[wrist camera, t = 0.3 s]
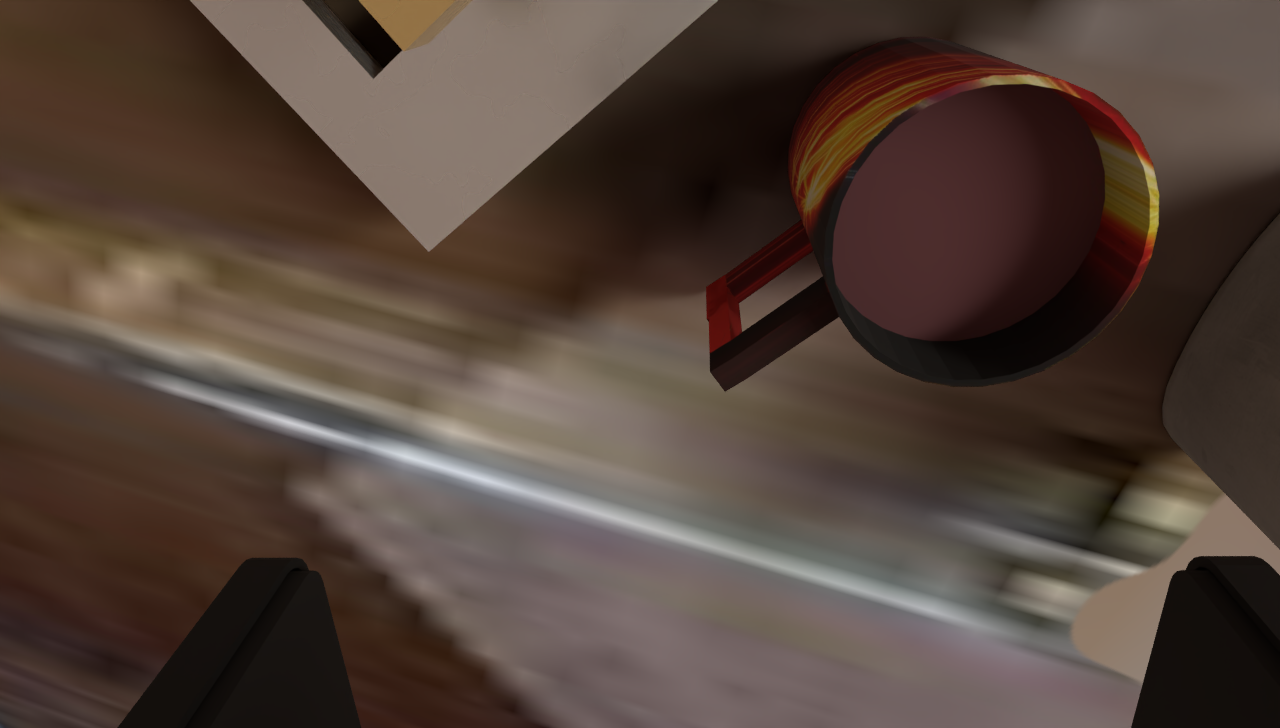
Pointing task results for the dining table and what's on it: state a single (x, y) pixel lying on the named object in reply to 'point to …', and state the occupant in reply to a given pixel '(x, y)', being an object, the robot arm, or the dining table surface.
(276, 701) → the robot arm
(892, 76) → the mug
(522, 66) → the white slotted holder
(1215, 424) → the flask
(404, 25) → the tall wooden post
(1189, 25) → the dining table surface
